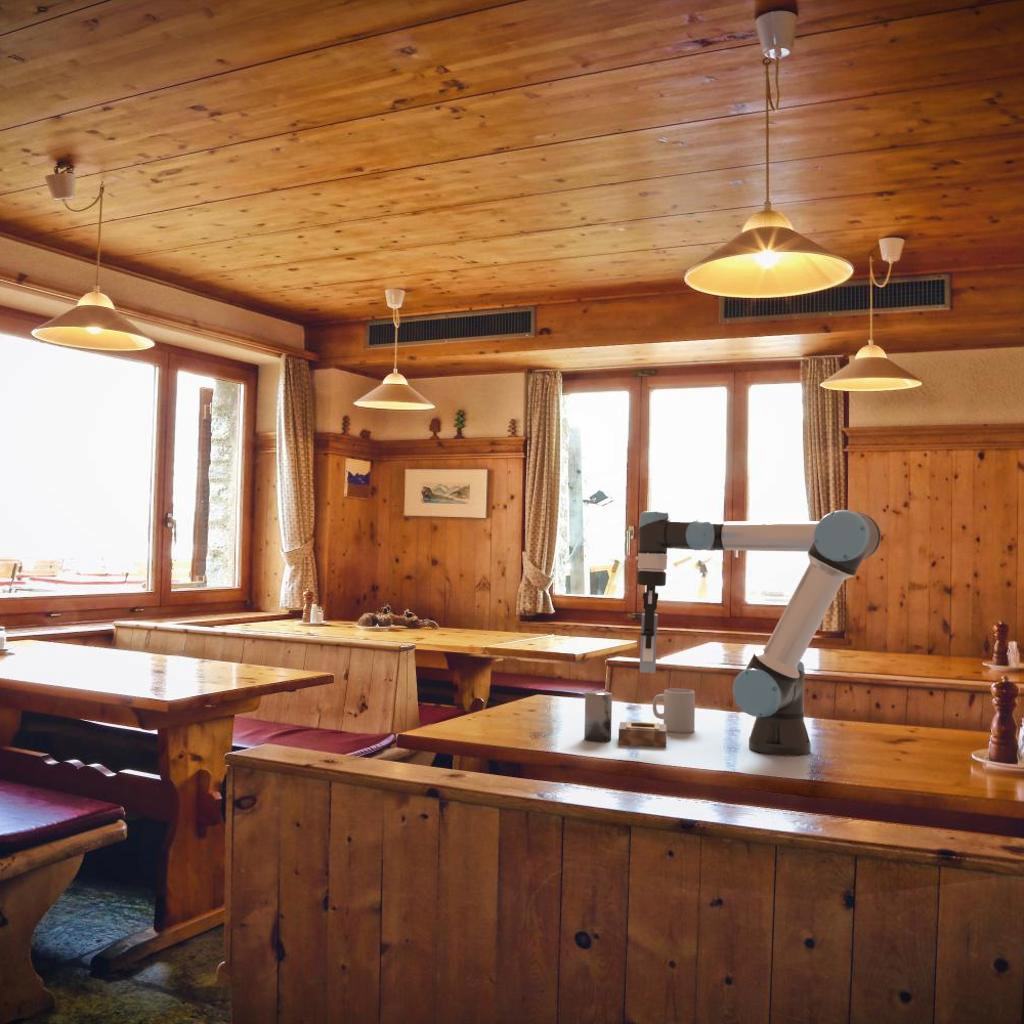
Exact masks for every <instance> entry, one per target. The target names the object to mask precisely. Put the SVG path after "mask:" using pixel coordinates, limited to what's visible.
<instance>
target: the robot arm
mask: <svg viewBox="0 0 1024 1024" xmlns="http://www.w3.org/2000/svg"><path fill="white" fill-rule="evenodd" d="M638 523H639V524H638V550H637V552H638V554H637V555H638V556H636V557H635V559H634V560H635V561H637V568H638V569H639V570H638V571H637V573H636V584H637V585H638V586H645V587H646V590H645V591H643V592H642V599H643V606H642V607H643V610H644V613H645V621H644V633H641V632H640V637H641V636H643V660H642V661H651V662H653V651H654V613H655V614H656V610H657V609H658V600H659V592H656V587H664V586H665V585H666V582H667V573H666V571H665V570H667V569H668V568H667V563H668V549H676V550H691V551H693V550H694V551H711V552H712V551H747V552H749V551H751V552H752V551H758V552H763V551H765V552H807V556H808V559H809V564H808V566H807V568H806V569H805V571H804V573H803V575H802V577H801V579H800V581H799V583H798V584H797V587H796V588H795V590H794V592H793V594H792V595H791V597H790V599H789V602H788V603H787V605H786V607H785V609H784V610H783V612H782V614H781V617H780V618H779V620H778V622H777V624H776V626H775V628H774V630H773V632H772V634H771V635H770V637H769V639H768V641H767V642H766V645H765V646H764V648H762V649H760V650H757V651H754V653H753V655H752V657H751V659H750V661H749V663H747V666H746V668H745V669H743V670H742V671H741V672H739V673H738V674H737V676H736V677H735V678H734V680H733V685H732V695H733V698H734V700H735V703H736V705H737V706H738V707H739V709H740V710H741V711H743V712H744V713H745V714H747V715H749V716H752V717H755V720H754V723H753V726H752V729H751V733H750V736H749V739H748V748H749V749H750V750H752V751H754V752H758V753H763V754H766V755H767V754H768V755H774V756H775V755H776V756H804V755H807V754H808V755H809V754H810V753H811V751H812V750H811V749H812V748H811V747H812V745H811V741H810V738H809V733H808V730H807V727H806V724H805V718H804V717H805V676H806V672H805V665H804V663H803V661H802V658H803V656H804V654H806V653H805V652H806V650H807V649H808V647H809V645H810V644H811V642H812V640H813V638H814V636H815V634H816V632H817V631H818V629H819V627H820V625H821V623H822V622H823V620H824V618H825V616H826V614H827V612H828V610H829V609H830V607H831V605H832V603H833V601H834V599H835V598H836V596H837V594H838V592H839V590H840V589H841V587H842V585H843V583H844V581H845V580H846V579H850V578H853V577H855V574H856V573H857V571H858V569H859V567H860V566H861V564H862V563H863V560H866V559H869V558H870V557H871V556H873V555H874V554H875V553H876V552H877V550H878V549H879V547H880V545H881V540H882V534H881V529H880V526H879V524H878V522H877V521H875V520H874V519H873V518H872V517H871V516H869V515H868V514H865V513H861V512H856V511H854V510H851V509H839V510H836V511H832V512H829V513H827V514H825V515H824V516H823V517H822V518H821V519H820V520H819V521H708V520H701V519H695V520H694V519H671V518H669V513H668V512H667V511H653V510H651V511H650V510H649V511H648V510H645V511H642V512H641V513H640V515H639V522H638Z"/></svg>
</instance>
